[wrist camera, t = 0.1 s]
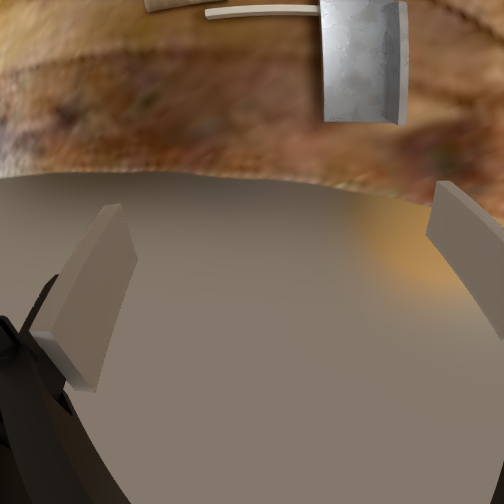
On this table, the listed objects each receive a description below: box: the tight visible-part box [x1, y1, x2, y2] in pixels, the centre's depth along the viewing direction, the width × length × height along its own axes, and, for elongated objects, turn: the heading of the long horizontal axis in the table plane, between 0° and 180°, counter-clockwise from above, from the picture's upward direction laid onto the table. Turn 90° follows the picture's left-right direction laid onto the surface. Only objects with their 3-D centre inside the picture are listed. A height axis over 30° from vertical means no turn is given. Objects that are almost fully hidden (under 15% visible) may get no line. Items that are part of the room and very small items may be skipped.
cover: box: [318, 0, 409, 126], centre depth 26 cm, size 9×18×4 cm, turn 4°
